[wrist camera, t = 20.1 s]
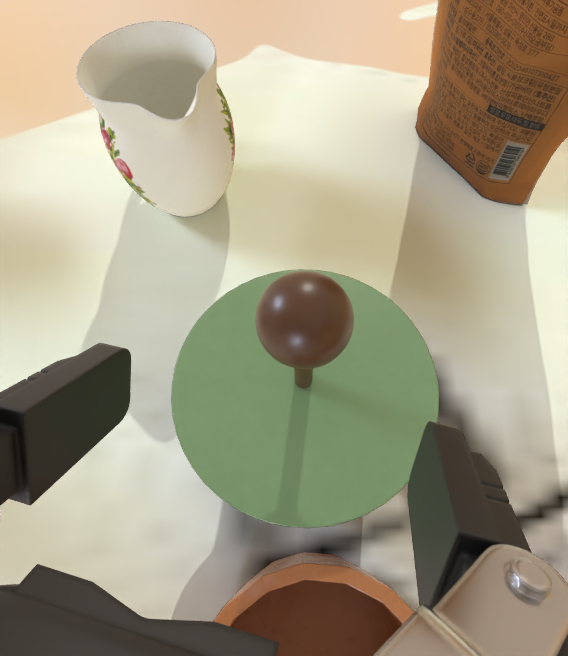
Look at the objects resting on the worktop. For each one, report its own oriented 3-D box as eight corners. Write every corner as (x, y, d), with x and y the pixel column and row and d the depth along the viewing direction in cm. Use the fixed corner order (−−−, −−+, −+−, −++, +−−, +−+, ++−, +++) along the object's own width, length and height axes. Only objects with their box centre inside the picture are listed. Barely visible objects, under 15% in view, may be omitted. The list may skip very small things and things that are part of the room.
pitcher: (203, 115, 47) (168, -31, 35) (272, 226, 40) (259, 91, 28) (110, 149, 45) (39, 7, 33) (165, 271, 38) (100, 148, 26)
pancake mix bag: (499, 235, 39) (873, -314, 13) (378, 117, 46) (472, -378, 21) (553, 205, 40) (988, -348, 15) (427, 95, 47) (571, -397, 22)
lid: (160, 312, 25) (80, 191, 16) (376, 256, 26) (416, 114, 17) (203, 566, 19) (115, 602, 10) (479, 480, 20) (622, 442, 11)
